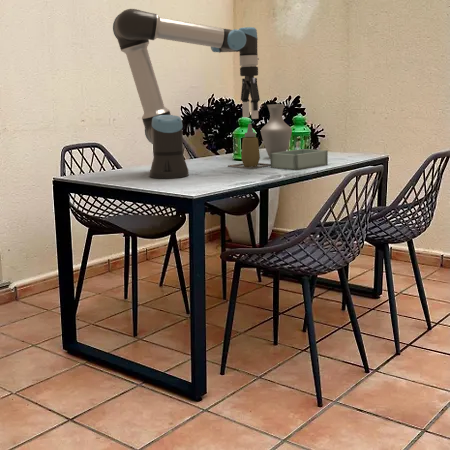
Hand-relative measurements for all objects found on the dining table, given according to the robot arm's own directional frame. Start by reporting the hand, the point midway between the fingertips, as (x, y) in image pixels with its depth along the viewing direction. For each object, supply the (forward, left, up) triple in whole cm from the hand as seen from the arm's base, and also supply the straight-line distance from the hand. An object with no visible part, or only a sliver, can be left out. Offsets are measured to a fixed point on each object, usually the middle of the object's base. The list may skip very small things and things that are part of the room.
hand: (250, 118), depth 269 cm
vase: (+28, +10, -21) cm, 36 cm away
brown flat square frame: (0, 0, -21) cm, 21 cm away
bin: (+12, -17, -21) cm, 29 cm away
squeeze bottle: (0, 0, -21) cm, 21 cm away
